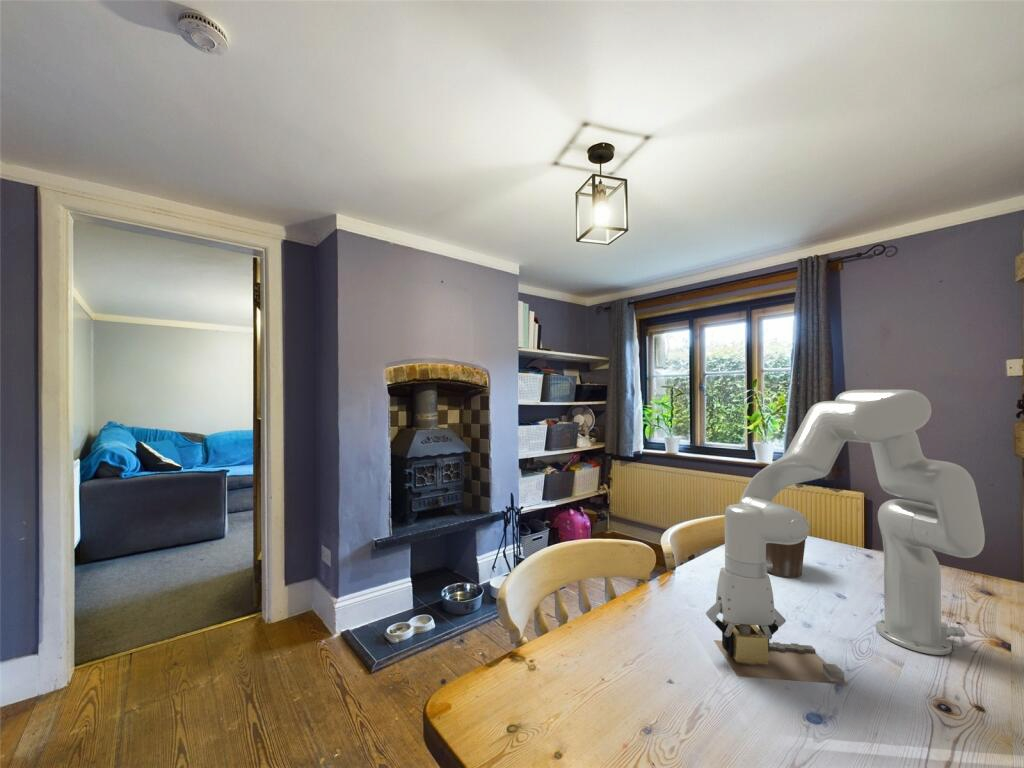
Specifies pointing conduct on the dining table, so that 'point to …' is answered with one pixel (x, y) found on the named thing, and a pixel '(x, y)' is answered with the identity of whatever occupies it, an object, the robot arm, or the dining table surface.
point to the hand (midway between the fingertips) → (745, 653)
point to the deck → (787, 663)
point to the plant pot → (786, 559)
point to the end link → (750, 646)
